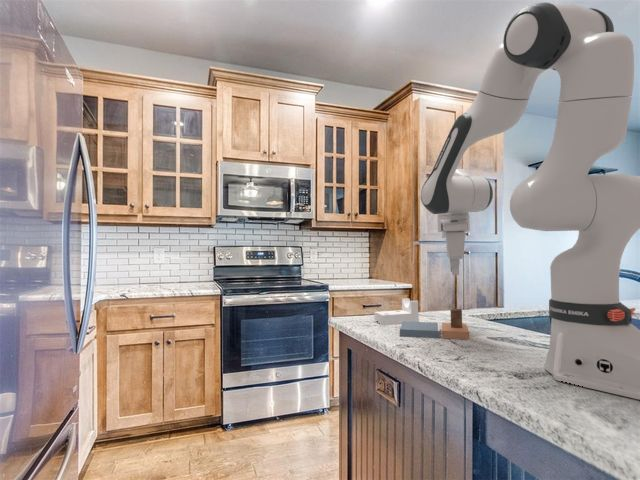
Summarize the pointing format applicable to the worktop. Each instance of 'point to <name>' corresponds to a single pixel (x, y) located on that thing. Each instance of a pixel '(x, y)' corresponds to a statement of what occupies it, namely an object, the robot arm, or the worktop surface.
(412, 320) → the bracket
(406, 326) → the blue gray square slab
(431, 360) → the worktop surface
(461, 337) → the stub
